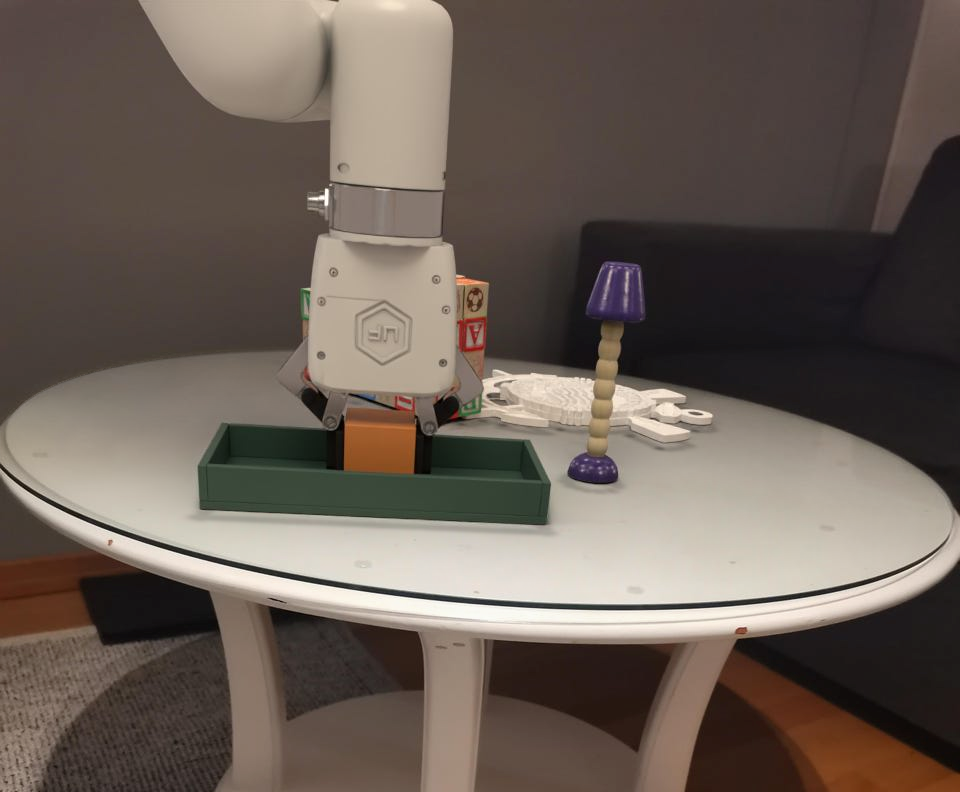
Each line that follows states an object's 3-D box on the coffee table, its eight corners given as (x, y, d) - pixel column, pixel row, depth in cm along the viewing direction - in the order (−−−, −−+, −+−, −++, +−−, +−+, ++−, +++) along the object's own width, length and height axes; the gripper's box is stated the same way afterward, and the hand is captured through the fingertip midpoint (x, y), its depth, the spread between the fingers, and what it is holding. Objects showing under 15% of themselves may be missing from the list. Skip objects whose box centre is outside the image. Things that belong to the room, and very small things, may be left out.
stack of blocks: (302, 378, 104) (298, 256, 99) (349, 372, 108) (347, 254, 103) (436, 422, 91) (440, 283, 85) (483, 413, 95) (490, 279, 89)
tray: (199, 509, 67) (197, 465, 65) (223, 461, 77) (221, 422, 75) (546, 524, 70) (551, 483, 68) (526, 476, 79) (530, 439, 78)
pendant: (465, 372, 114) (466, 360, 113) (706, 400, 111) (709, 387, 110) (427, 414, 95) (428, 400, 94) (717, 449, 92) (720, 434, 91)
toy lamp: (557, 466, 83) (582, 257, 75) (606, 465, 84) (636, 260, 77) (579, 484, 79) (608, 265, 71) (631, 483, 80) (664, 268, 73)
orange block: (412, 496, 71) (416, 428, 69) (343, 493, 70) (344, 424, 68) (410, 475, 75) (414, 411, 73) (345, 471, 75) (347, 407, 73)
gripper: (249, 210, 60) (256, 492, 68) (520, 231, 62) (496, 502, 70) (262, 203, 67) (267, 460, 75) (507, 222, 69) (486, 471, 77)
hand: (378, 478), depth 73 cm, fingers closed on orange block, 4 cm apart
